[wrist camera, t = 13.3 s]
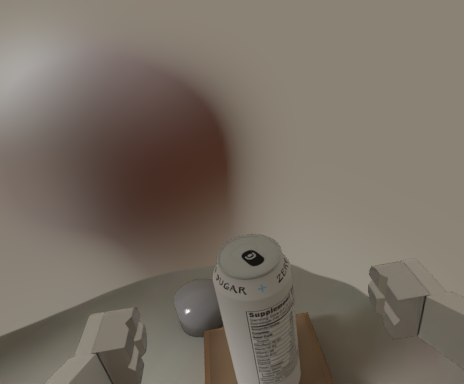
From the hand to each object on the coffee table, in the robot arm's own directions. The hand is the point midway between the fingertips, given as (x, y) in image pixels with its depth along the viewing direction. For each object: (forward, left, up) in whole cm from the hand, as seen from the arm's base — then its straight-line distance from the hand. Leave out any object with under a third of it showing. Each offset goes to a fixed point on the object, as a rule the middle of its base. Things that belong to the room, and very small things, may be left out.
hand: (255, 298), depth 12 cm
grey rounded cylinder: (-20, +13, -26) cm, 35 cm away
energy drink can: (-7, +9, -22) cm, 25 cm away
